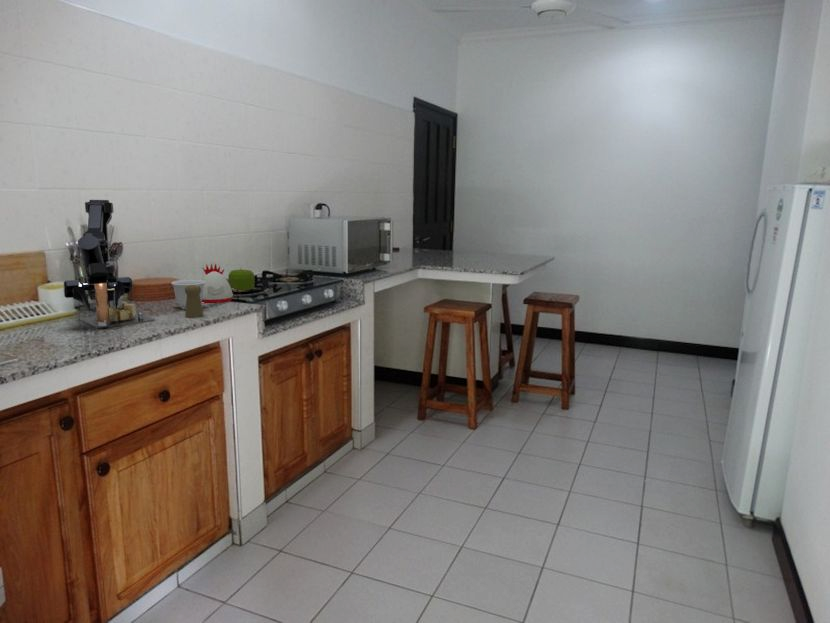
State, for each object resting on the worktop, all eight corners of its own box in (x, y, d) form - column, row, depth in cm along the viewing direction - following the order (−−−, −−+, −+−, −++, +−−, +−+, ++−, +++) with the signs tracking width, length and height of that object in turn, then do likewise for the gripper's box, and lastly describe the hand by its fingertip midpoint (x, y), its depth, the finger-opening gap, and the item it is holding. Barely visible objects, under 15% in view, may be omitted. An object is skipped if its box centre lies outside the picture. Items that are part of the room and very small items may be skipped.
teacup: (182, 314, 204) (180, 286, 202) (167, 307, 215) (166, 281, 213) (215, 310, 212) (214, 283, 210) (199, 304, 223) (198, 278, 221)
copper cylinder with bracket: (104, 314, 196) (101, 275, 194) (139, 314, 198) (136, 275, 196) (82, 327, 177) (78, 284, 174) (121, 327, 179) (117, 283, 176)
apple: (240, 295, 243) (239, 270, 241) (223, 293, 249) (222, 268, 247) (260, 292, 253) (259, 267, 250) (243, 289, 258) (242, 265, 256)
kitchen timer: (196, 298, 235) (194, 262, 232) (231, 296, 240) (229, 261, 238) (197, 304, 223) (195, 266, 220) (234, 302, 228) (233, 265, 225)
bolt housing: (78, 319, 192) (77, 300, 191) (134, 312, 205) (133, 294, 203) (97, 328, 180) (95, 308, 178) (155, 320, 192) (154, 301, 191)
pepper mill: (205, 314, 204) (204, 283, 202) (200, 318, 198) (198, 286, 196) (188, 314, 204) (186, 283, 202) (182, 317, 198) (180, 286, 196)
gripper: (60, 254, 173) (68, 295, 166) (128, 251, 184) (138, 290, 177) (60, 276, 181) (68, 317, 174) (126, 273, 191) (135, 311, 185)
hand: (103, 308), depth 177 cm, fingers open, 7 cm apart
